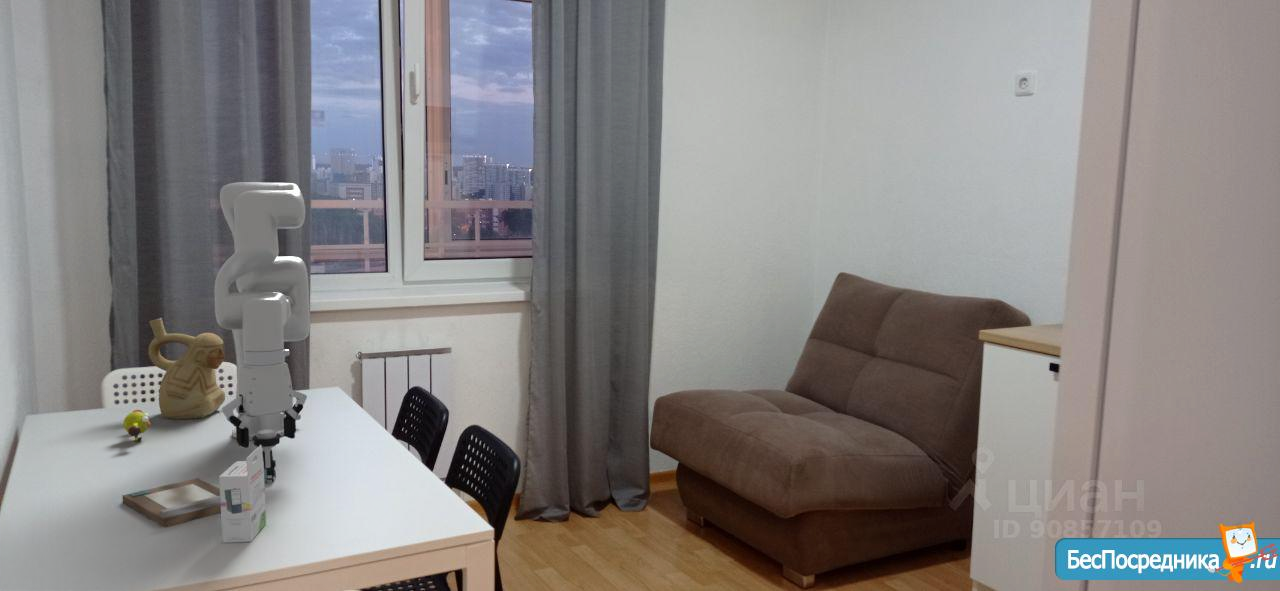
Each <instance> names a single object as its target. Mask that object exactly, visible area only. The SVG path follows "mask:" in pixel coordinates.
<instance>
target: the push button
mask: <svg viewBox="0 0 1280 591" xmlns="http://www.w3.org/2000/svg"><path fill="white" fill-rule="evenodd" d="M281 438H282V436H281V435H280V434H278V433H276V431H275V430H272V429H266V430H260V431H258V432H257V435H255V436H253V437H252V440H251V441H253V446H255V447H257V448H258V447H259V446H260V445H261V446H262V454H263V462H264V484H265V483H268V484H269V483H273V482H274V478H275V479H276V478H277V471H276V469H275V467H276V466H277V465H276V460H275V459H274V456H273V450H272V448H275V447H276V446H277V445H279V444H280V443H281V440H280V439H281Z"/></svg>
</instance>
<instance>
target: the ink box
mask: <svg viewBox="0 0 1280 591" xmlns="http://www.w3.org/2000/svg"><path fill="white" fill-rule="evenodd" d="M262 451H263V448H262V446H261V445H260V446H259V447H257V448H256V449H254V450H253V451H252V452H251V453H249V455H248V456H246V460H243V461H242V460H239V461H238V460H237V461H235V462H234V463H232V464H231V465H230V467H228V468H227V469H226V470H225V471H223V473H221V474H220V475H219V476H218V482H219V489H220V502H221V512H220V518H221V519H220V520H221V521H220V522H221V539H222V541H221V542H222V543H223V544H224V543H225V544H226V543H249V542H252V541H253V540H254V539H255V538H256V536H257V535H258V534H259V533H260V532H261V530H262V529H263V528H264V527H265V526H266V524H267V520H266V518H267V516H266V512H267V511H266V492H265V488H266V487H265V483H264V462H263V454H262ZM255 457H256V460H254V459H255ZM253 460H254V461H253Z"/></svg>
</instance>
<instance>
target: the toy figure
mask: <svg viewBox="0 0 1280 591" xmlns="http://www.w3.org/2000/svg"><path fill="white" fill-rule="evenodd" d="M149 416H150V415H149V413H147V412H143V411H142V410H141V409H135V410H133V411H132V412H130V413H128V414H127V415H126V416H125V418H124V420H123V428H124V430H125V431H126V432H127V434H129V436H131V437H134V442H141V441H142V439H143V437H142V436H140V434H142V433H144V432H145V431H146V430H148V429H149V428H151V426H152V424H151V422H150V419H149ZM139 436H140V437H139Z"/></svg>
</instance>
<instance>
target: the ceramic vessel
mask: <svg viewBox="0 0 1280 591" xmlns="http://www.w3.org/2000/svg"><path fill="white" fill-rule="evenodd" d="M148 323H149V325H150V327H151V329H152V332H153V335H154V338H152V340H151V342H150V343H149V346H148V352H147V353H148V357H149V360H150V361H151V362H152V364H153V365H154V366H155V367H157V368H158V369H160V370H162V371H165V373H164V375H163V377H162V378H161V383H160V386H159V391H158V392H159V393H158V406H159V411H160V412H161V415H162V416H163V417H164V418H166V419H171V420H172V419H173V420H190V419H191V420H193V419H202V418H205V417H207V416H210V415H211V414H213V413H215V411H217V410H219V409H220V407H221V406H222V405H223V404H224V402H225V400H226V394H225V392H224V390H223V389H222V388H221V387H219V385H218V384H217V376H216V370H217V369H219V367H220V366H221V365H222V364H223V361H224V360H226V354H225V353H224V351H223V350H224V349H223V344H224V341H223V339H222V338H221V337H220V336H219V335H218V334H215V333H213V332H203V333H200V334H198V335H197V336H192V335H189V334H185V333H178V332H177V333H175V332H173V333H167V332H166V329H165V326H164V322H163V317H160V318H156V319H153V320H150V321H149V322H148ZM170 343H173V344H174V343H177V344H178V343H179V344H182V345H184V346H186V347H187V349H186V351H185V352H184V353H183V354H182V356H179V358H178V359H177V360H170V359H166V358H165V357H164V356H162V354H161V351H160V350H161V347H162V346H164V345H167V344H170Z"/></svg>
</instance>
